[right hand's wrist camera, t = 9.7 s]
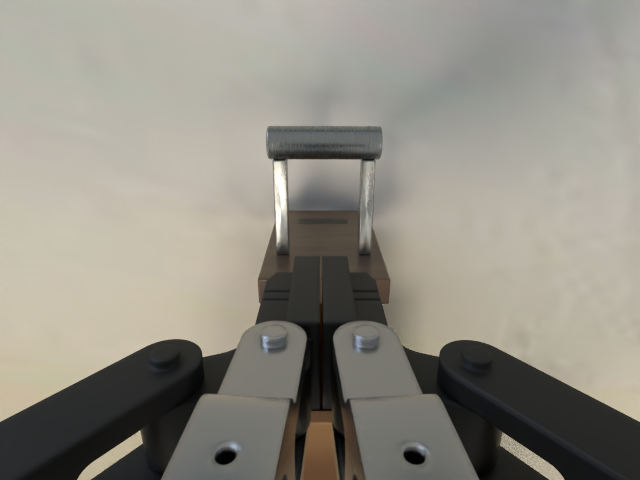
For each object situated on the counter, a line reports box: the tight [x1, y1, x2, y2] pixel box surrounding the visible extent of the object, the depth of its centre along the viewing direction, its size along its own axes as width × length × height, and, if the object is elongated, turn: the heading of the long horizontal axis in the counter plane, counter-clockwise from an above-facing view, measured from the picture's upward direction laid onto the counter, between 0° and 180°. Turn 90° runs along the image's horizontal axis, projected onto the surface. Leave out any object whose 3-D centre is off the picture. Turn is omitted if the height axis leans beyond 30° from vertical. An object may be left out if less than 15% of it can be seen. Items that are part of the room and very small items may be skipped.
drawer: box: [258, 126, 390, 411], centre depth 24 cm, size 23×6×10 cm, turn 0°
